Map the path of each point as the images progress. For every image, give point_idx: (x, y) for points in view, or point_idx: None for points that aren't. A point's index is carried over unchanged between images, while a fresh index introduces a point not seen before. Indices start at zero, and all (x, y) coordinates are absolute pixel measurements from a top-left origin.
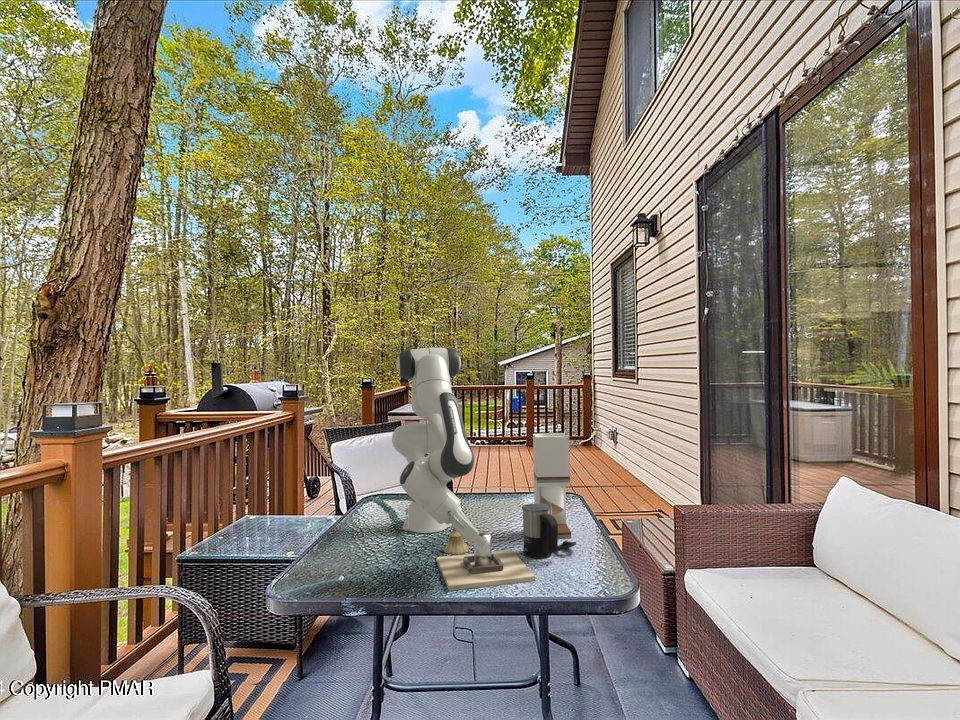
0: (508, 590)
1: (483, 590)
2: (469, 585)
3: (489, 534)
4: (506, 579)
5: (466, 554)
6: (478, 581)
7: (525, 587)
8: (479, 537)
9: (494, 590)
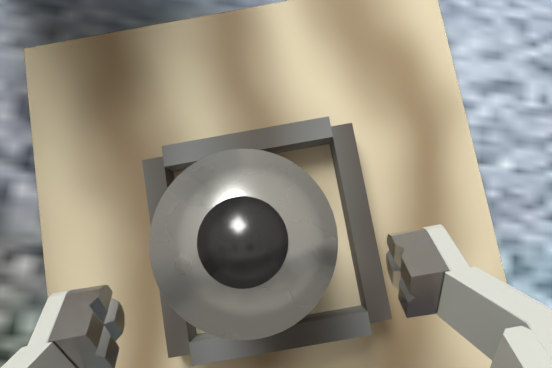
0: (535, 128)
1: (531, 253)
2: None
3: (248, 163)
4: (467, 123)
5: None
6: None
7: (502, 44)
8: (520, 297)
9: (533, 197)
